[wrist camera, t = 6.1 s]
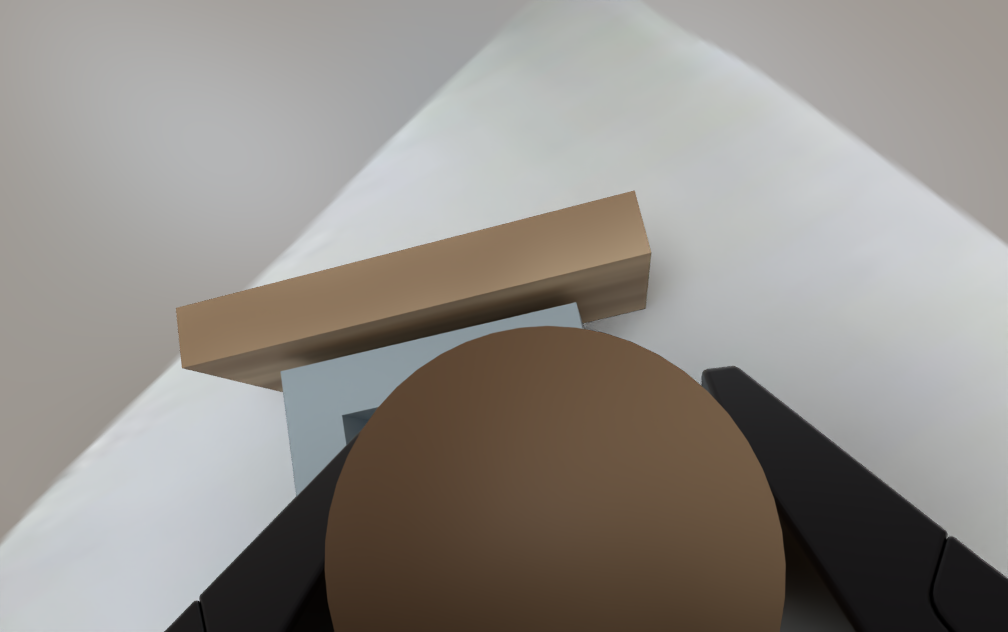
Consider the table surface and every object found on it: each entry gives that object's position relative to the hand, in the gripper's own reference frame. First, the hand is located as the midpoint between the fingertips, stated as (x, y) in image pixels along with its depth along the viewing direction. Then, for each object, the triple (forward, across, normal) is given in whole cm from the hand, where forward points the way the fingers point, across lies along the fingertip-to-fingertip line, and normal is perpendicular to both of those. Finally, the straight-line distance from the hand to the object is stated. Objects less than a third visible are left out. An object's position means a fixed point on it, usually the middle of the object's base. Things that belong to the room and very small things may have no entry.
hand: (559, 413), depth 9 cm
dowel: (+4, 0, +6) cm, 7 cm away
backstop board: (+13, +4, +6) cm, 15 cm away
